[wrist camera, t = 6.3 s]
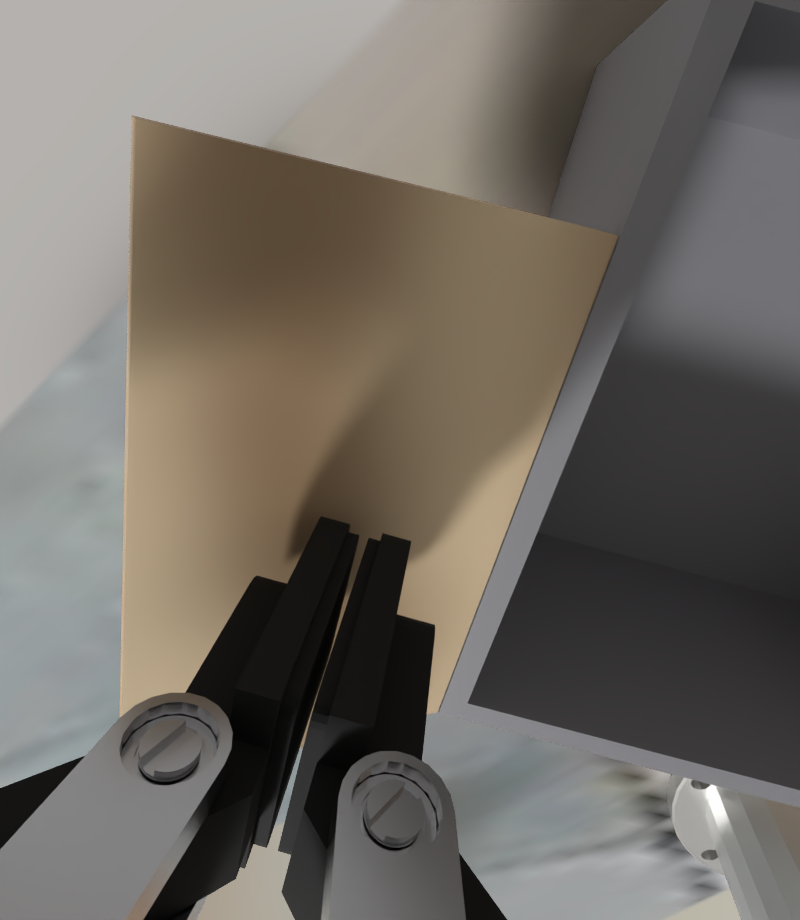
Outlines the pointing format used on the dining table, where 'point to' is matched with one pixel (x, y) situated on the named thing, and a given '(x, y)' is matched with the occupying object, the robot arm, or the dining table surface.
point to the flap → (326, 384)
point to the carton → (669, 427)
